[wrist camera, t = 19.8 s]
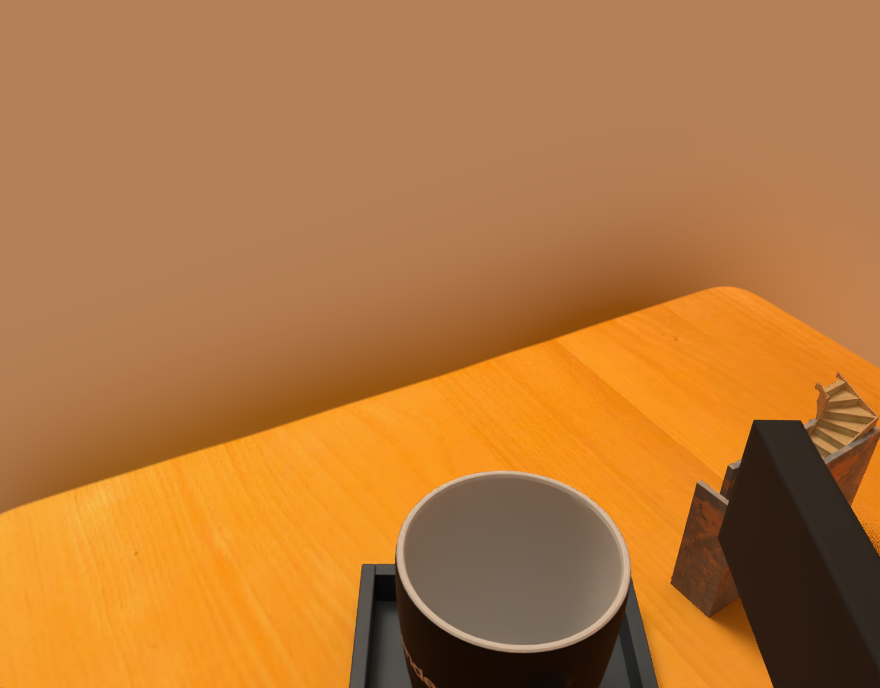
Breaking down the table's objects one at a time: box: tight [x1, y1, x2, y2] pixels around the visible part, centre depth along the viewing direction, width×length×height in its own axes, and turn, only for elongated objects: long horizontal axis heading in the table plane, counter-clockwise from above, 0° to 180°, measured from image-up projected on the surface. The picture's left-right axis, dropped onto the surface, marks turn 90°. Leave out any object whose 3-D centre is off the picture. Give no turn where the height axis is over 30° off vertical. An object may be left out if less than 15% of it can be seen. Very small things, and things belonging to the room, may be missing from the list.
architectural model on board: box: [671, 372, 880, 617], centre depth 42 cm, size 11×3×10 cm, turn 124°
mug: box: [395, 471, 631, 688], centre depth 32 cm, size 12×9×10 cm
